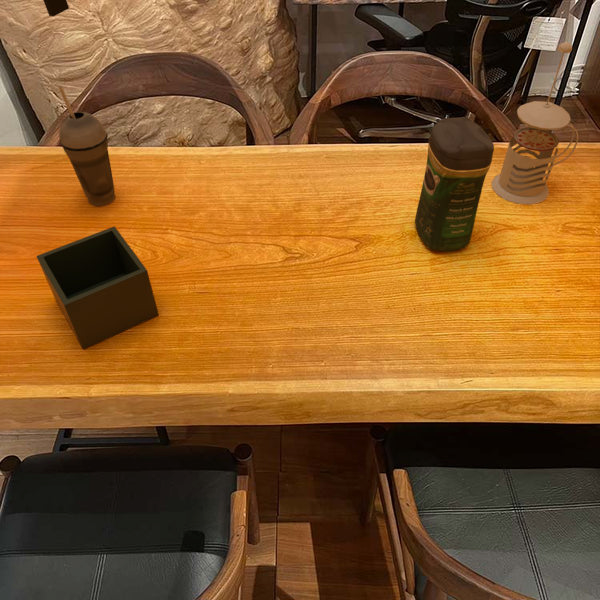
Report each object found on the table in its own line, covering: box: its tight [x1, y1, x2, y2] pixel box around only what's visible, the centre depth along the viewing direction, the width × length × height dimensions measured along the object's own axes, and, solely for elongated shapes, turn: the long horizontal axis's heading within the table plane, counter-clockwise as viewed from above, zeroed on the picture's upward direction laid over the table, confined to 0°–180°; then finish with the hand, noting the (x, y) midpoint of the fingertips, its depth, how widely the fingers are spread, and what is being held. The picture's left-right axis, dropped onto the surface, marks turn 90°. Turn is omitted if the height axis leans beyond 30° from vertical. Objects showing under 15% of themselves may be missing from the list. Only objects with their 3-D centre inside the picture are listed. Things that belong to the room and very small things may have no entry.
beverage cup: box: [58, 85, 116, 207], centre depth 93 cm, size 7×7×20 cm
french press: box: [491, 41, 579, 205], centre depth 93 cm, size 10×12×25 cm
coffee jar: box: [414, 116, 495, 253], centre depth 87 cm, size 10×8×19 cm
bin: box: [36, 226, 160, 350], centre depth 79 cm, size 11×11×9 cm
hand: (23, 7), depth 76 cm, fingers open, 13 cm apart
